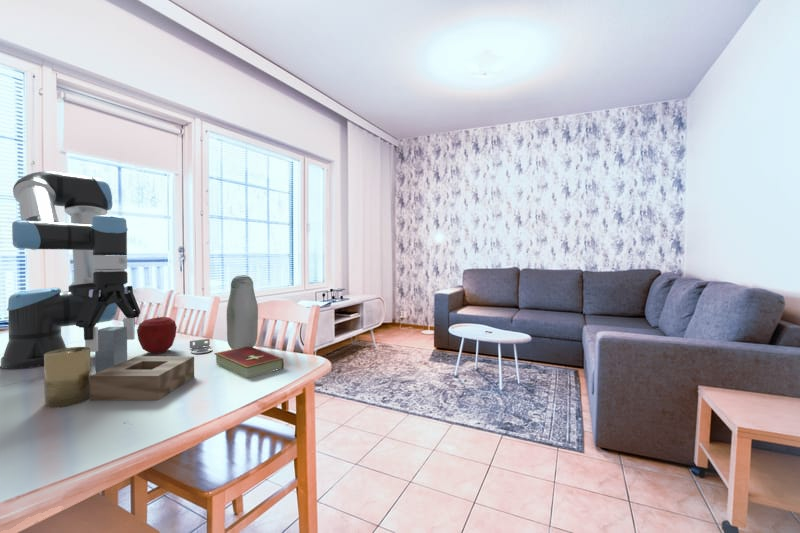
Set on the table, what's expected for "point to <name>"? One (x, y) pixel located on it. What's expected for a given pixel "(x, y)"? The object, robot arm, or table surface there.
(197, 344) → the bracket
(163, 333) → the apple
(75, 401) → the round bit
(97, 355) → the square bit
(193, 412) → the table surface
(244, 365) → the hardcover book
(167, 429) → the table surface
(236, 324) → the grey rounded tall shape
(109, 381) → the socket block
